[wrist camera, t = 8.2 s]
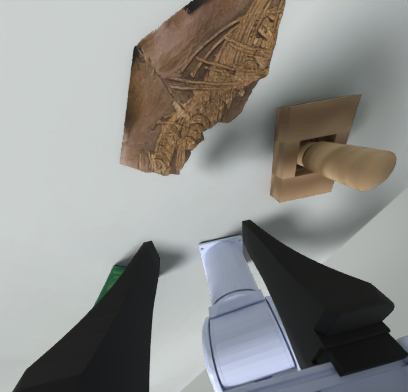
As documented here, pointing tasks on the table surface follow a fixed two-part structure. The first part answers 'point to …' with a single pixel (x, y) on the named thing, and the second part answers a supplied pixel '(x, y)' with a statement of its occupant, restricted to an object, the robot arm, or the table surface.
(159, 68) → the wooden fragment
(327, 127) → the board
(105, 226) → the table surface
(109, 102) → the table surface
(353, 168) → the peg
